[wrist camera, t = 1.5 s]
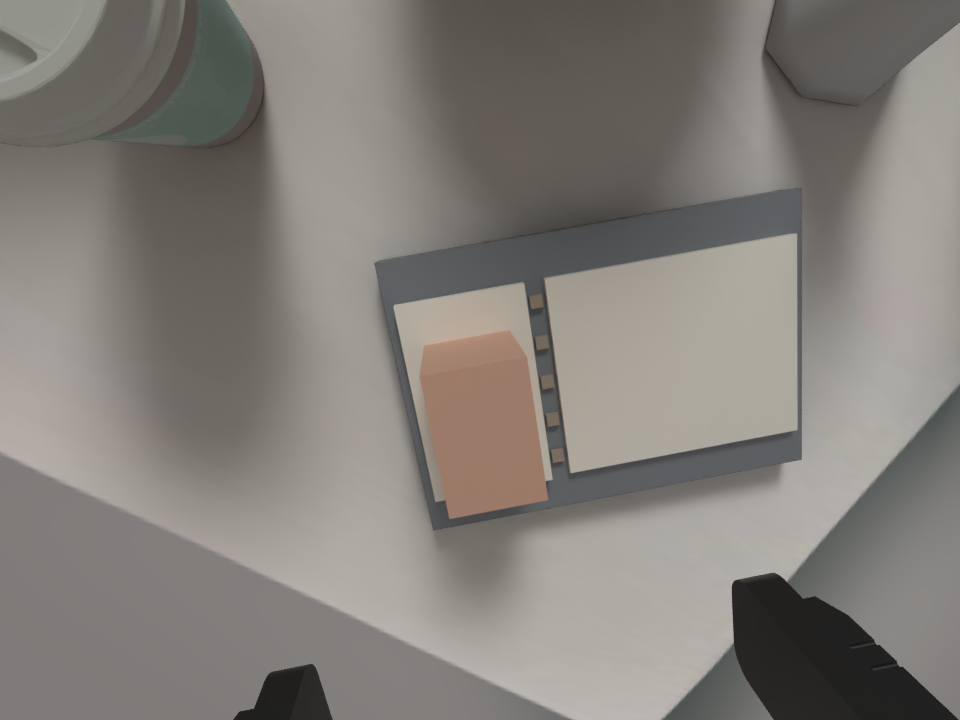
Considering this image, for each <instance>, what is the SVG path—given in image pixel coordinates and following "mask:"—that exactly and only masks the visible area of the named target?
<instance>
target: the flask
mask: <svg viewBox="0 0 960 720" xmlns="http://www.w3.org/2000/svg"><path fill="white" fill-rule="evenodd" d="M959 22H960V0H776V4H775V9H774V13H773V17H772V22H771V26H770V30H769V35H768V39H767V43H766V47H765V48H766V49H767V51H768V52H769V53H770V55H771V56H772V58H773V59H774V60H775V62H776V63H777V64H778V66H779V67H780V68H781V70H782V71H783V72H784V74H785V75H786V76H787V78H788V79H789V80H790V82H791V83H792V84H793V86H794V87H795V89H796V90H797V91H798V93H799V94H800V95H801V97H806V98H812V99H818V100H824V101H830V102H836V103H843V104H849V105H855V106H858V105H859V104H861V103H862V102H863V101H864V100H866V99H867V98H868V97H869V96H871V95H872V94H873V93H874V92H875V91H877V90H878V89H879V88H880V87H881V86H883V85H884V84H885V83H886V82H887V81H888V80H890V79H891V78H892V77H893V76H894V75H895V74H897V73H898V72H899V71H900V70H901V69H903V68H904V67H905V66H906V65H907V64H908V63H910V62H911V61H912V60H913V59H914V58H916V57H917V56H918V55H919V54H920V53H922V52H923V51H924V50H925V49H927V48H928V47H929V46H931V45H932V44H933V43H934V42H936V41H937V40H938V39H939V38H941V37H942V36H943V35H944V34H946V33H947V32H948V31H949V30H951V29H952V28H953V27H954V26H956V25H957V24H958V23H959Z"/></svg>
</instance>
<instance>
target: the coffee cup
mask: <svg viewBox="0 0 960 720" xmlns="http://www.w3.org/2000/svg"><path fill="white" fill-rule="evenodd" d="M263 87H264V81H263V71H262V66H261V62H260V59H259V56H258V53H257V51H256V49H255V46H254V44H253V43H252V41H251V39H250V38H249V36H248V34H247V33H246V31H245V30H244V28H243V27H242V25H241V23H240V22H239V20H238V19H237V17H236V15H235V14H234V12H233V11H232V9H231V8H230V6H229V5H228V3H227V2H226V0H0V143H5V144H11V145H18V146H29V147H49V146H60V145H67V144H72V143H76V142H80V141H84V140H87V139H92V140H105V141H119V142H132V143H145V144H158V145H172V146H187V147H214V146H219V145H223V144H226V143H228V142H230V141H232V140H234V139H236V138H237V137H239V136H240V135H241V134H242V133H244V132H245V131H246V130H247V128H248V127H249V126H250V125H251V124H252V122H253V121H254V119H255V117H256V115H257V113H258V111H259V108H260V105H261V102H262V97H263Z"/></svg>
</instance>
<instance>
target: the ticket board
mask: <svg viewBox="0 0 960 720" xmlns="http://www.w3.org/2000/svg"><path fill="white" fill-rule="evenodd" d="M374 264H375V268H376V273H377V277H378V282H379V286H380V291H381V295H382V300H383V304H384V309H385V313H386V318H387V322H388V327H389V332H390V336H391V341H392V345H393V350H394V354H395V359H396V363H397V368H398V372H399V377H400V381H401V386H402V390H403V395H404V399H405V404H406V409H407V413H408V418H409V422H410V427H411V431H412V436H413V440H414V445H415V449H416V454H417V458H418V463H419V467H420V472H421V476H422V481H423V486H424V490H425V495H426V499H427V504H428V508H429V513H430V517H431V522H432V526H433V530H438V529H443V528H448V527H454V526H459V525H464V524H469V523H474V522H480V521H485V520H490V519H495V518H500V517H506V516H511V515H516V514H521V513H526V512H532V511H537V510H542V509H547V508H552V507H558V506H563V505H568V504H573V503H578V502H584V501H589V500H594V499H599V498H604V497H610V496H615V495H620V494H625V493H630V492H636V491H641V490H646V489H651V488H656V487H662V486H667V485H672V484H677V483H682V482H688V481H693V480H698V479H703V478H708V477H714V476H719V475H724V474H729V473H734V472H740V471H745V470H750V469H755V468H760V467H766V466H771V465H776V464H781V463H786V462H792V461H797V460H802V188H795V189H786V190H778V191H773V192H767V193H761V194H756V195H750V196H744V197H739V198H733V199H727V200H722V201H716V202H710V203H705V204H699V205H693V206H688V207H682V208H676V209H671V210H665V211H659V212H654V213H648V214H642V215H637V216H631V217H625V218H619V219H614V220H608V221H602V222H597V223H591V224H585V225H580V226H574V227H568V228H563V229H557V230H551V231H546V232H540V233H534V234H529V235H523V236H517V237H512V238H506V239H500V240H495V241H489V242H483V243H478V244H472V245H466V246H461V247H455V248H449V249H444V250H438V251H432V252H427V253H421V254H415V255H410V256H404V257H398V258H393V259H387V260H381V261H377V262H376V263H374ZM519 282H523V283H524V285H525V292H526V299H527V306H528V313H529V319H530V326H531V333H532V340H533V347H534V354H535V361H536V368H537V375H538V382H539V388H540V395H541V402H542V409H543V416H544V423H545V430H546V437H547V444H548V451H549V457H550V464H551V471H552V478H553V480H549V481H546V488H547V494H548V500H547V501H541V502H536V503H531V504H526V505H520V506H515V507H510V508H505V509H500V510H494V511H489V512H484V513H479V514H474V515H468V516H463V517H458V518H453V519H449V515H448V510H447V505H446V500H444V501H439V502H435V498H434V493H433V489H432V484H431V479H430V475H429V470H428V465H427V461H426V456H425V451H424V447H423V442H422V438H421V433H420V428H419V424H418V419H417V414H416V410H415V405H414V401H413V396H412V391H411V387H410V382H409V377H408V373H407V368H406V363H405V359H404V354H403V350H402V345H401V340H400V336H399V331H398V326H397V322H396V317H395V312H394V308H393V306H394V305H396V304H402V303H408V302H413V301H419V300H424V299H430V298H436V297H441V296H447V295H452V294H458V293H463V292H469V291H475V290H480V289H486V288H491V287H497V286H503V285H508V284H514V283H519Z"/></svg>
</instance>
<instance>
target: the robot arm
mask: <svg viewBox="0 0 960 720" xmlns="http://www.w3.org/2000/svg"><path fill="white" fill-rule="evenodd" d="M732 607H733V630H734V647H735V652H736V656H737V659H738V662H739V664H740V667H741V669H742V671H743V673H744V676H745V677H746V679H747V681H748V682H749V684H750V686H751V687H752V688H753V690H754V691H755V693H756V694H757V695H758V697H759V699H760V700H761V702H762V703H763V705H764V706H765V708H766V709H767V710H768V712H769V713H770V715H771V716H772V718H773V719H774V720H958V719H957V718H956V717H955V716H954V715H953V714H952V713H951V712H950V711H949V710H948V709H947V708H946V707H945V706H943V705H942V704H941V703H940V702H939V701H938V700H937V699H936V698H935V697H934V696H933V695H932V694H931V693H930V692H929V691H928V690H926V689H925V688H924V687H923V686H922V685H921V684H920V683H919V682H918V681H917V680H916V679H915V678H914V677H913V676H912V675H911V674H910V673H909V672H908V671H906V670H905V669H904V668H903V667H899V666H898V664H897V661H896V660H895V659H894V658H893V657H892V656H891V655H889V654H888V653H887V652H886V651H885V650H884V649H883V648H882V647H881V646H880V645H876V644H875V642H874V639H873V638H872V637H871V636H869V635H868V634H867V633H866V632H865V631H864V630H863V629H862V628H861V627H860V626H859V625H858V624H857V623H856V622H855V621H854V620H853V619H851V618H850V617H849V616H848V615H847V614H845V613H843V612H841V611H840V610H838V609H836V608H834V607H833V606H831V605H829V604H827V603H826V602H824V601H822V600H820V599H819V598H817V597H810V598H805V599H803V598H802V597H801V596H800V595H799V594H798V593H797V592H796V591H795V590H794V589H793V588H792V587H791V586H790V585H789V584H788V583H787V582H786V581H785V580H784V579H783V578H782V577H781V576H779V575H778V574H776V573H769V574H764V575H759V576H754V577H749V578H744V579H739V580H735V581H734V582H733V584H732ZM233 720H332V717H331V714H330V710H329V707H328V704H327V701H326V698H325V694H324V691H323V688H322V685H321V682H320V679H319V675H318V672H317V670H316V668H315V666H314V665H312V664H309V665H304V666H299V667H294V668H289V669H284V670H279V671H274V672H271V673H270V674H269V675H268V676H267V678H266V680H265V682H264V684H263V687H262V689H261V692H260V695H259V697H258V700H257V703H256V705H255V708H254V709H250V710H246V711H240V712H239V713H238V714H237V716H236V717H235V718H234V719H233Z"/></svg>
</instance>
